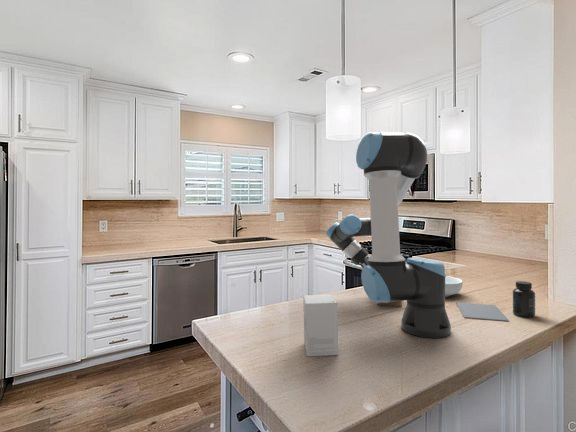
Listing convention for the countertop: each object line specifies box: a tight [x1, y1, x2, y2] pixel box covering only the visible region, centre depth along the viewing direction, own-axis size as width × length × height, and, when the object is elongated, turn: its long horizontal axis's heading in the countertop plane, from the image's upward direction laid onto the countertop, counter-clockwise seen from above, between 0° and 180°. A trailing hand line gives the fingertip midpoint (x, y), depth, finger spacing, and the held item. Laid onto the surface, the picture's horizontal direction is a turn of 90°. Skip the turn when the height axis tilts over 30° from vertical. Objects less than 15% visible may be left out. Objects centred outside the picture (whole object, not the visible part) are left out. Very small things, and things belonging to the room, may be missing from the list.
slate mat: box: [455, 302, 510, 322], centre depth 128 cm, size 18×14×1 cm
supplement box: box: [302, 294, 339, 357], centre depth 98 cm, size 9×9×15 cm
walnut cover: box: [376, 301, 403, 307], centre depth 142 cm, size 10×10×10 cm
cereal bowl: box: [445, 275, 464, 298], centre depth 153 cm, size 17×17×7 cm
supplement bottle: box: [512, 280, 536, 319], centre depth 124 cm, size 7×7×12 cm
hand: (392, 289), depth 142 cm, fingers open, 13 cm apart
